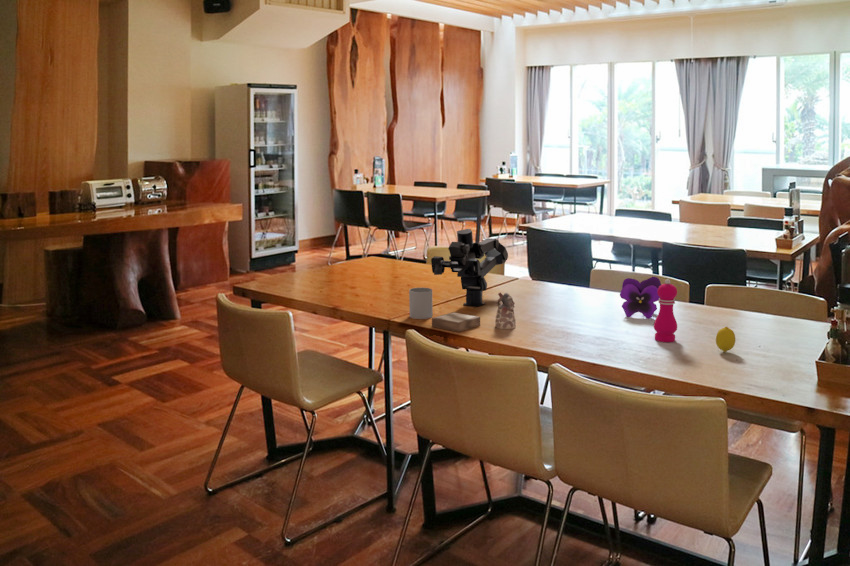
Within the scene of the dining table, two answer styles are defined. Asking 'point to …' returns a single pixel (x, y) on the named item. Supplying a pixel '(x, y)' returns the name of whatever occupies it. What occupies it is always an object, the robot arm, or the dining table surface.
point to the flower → (640, 296)
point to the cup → (420, 303)
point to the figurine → (505, 312)
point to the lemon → (725, 339)
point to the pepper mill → (666, 313)
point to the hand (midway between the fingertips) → (446, 274)
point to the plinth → (455, 321)
